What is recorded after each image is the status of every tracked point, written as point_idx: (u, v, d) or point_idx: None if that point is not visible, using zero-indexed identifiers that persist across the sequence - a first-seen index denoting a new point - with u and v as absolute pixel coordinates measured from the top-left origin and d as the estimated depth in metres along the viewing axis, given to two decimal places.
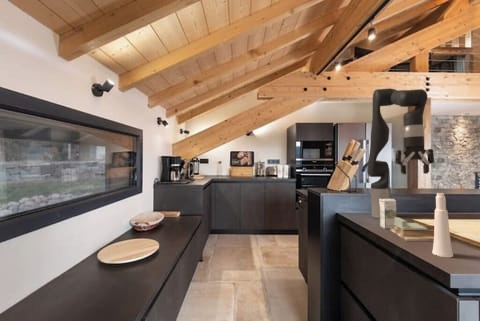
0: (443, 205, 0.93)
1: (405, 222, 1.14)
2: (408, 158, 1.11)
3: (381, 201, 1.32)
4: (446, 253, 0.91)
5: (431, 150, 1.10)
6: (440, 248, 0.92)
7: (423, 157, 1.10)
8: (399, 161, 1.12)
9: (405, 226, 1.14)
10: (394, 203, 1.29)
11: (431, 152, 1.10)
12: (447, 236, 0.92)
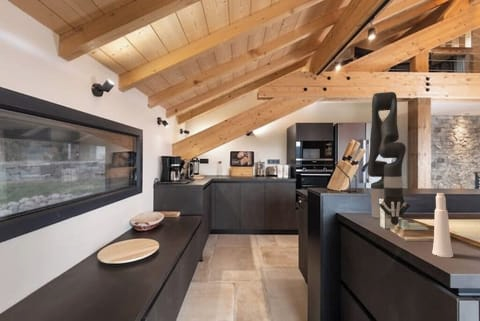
0: (443, 205, 0.93)
1: (406, 222, 1.14)
2: (392, 209, 1.17)
3: (381, 201, 1.32)
4: (446, 253, 0.91)
5: (408, 205, 1.17)
6: (440, 248, 0.92)
7: (398, 208, 1.17)
8: (389, 212, 1.18)
9: (406, 226, 1.14)
10: None
11: (407, 207, 1.17)
12: (447, 236, 0.92)
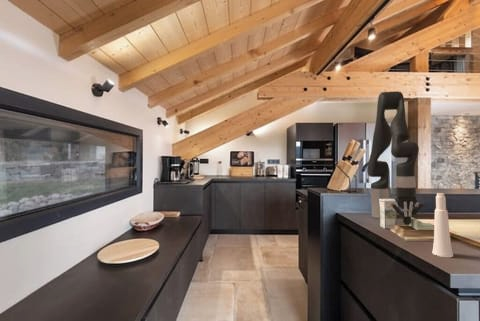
0: (443, 205, 0.93)
1: (419, 222, 1.13)
2: (405, 209, 1.16)
3: (381, 201, 1.32)
4: (446, 253, 0.91)
5: (421, 205, 1.16)
6: (440, 248, 0.92)
7: (410, 208, 1.16)
8: (401, 212, 1.17)
9: (419, 226, 1.13)
10: None
11: (419, 206, 1.16)
12: (447, 236, 0.92)
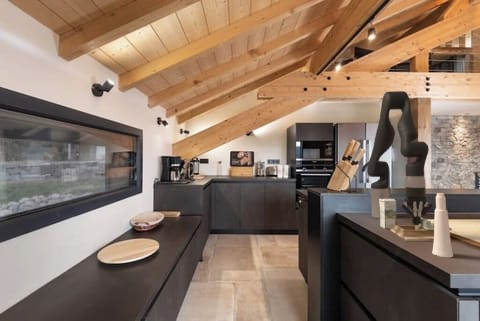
0: (443, 205, 0.93)
1: (429, 222, 1.13)
2: (415, 209, 1.16)
3: (381, 201, 1.32)
4: (446, 253, 0.91)
5: (430, 205, 1.15)
6: (440, 248, 0.92)
7: (420, 208, 1.15)
8: (411, 212, 1.16)
9: (429, 226, 1.13)
10: (394, 203, 1.29)
11: (429, 206, 1.15)
12: (447, 236, 0.92)
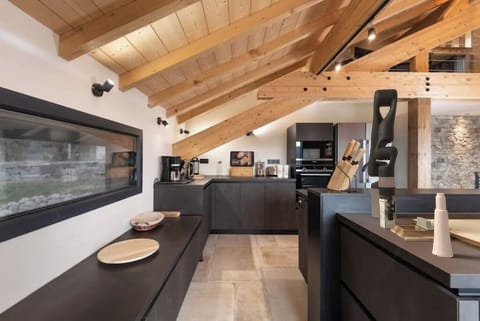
0: (443, 205, 0.93)
1: (429, 222, 1.13)
2: None
3: (381, 201, 1.32)
4: (446, 253, 0.91)
5: (389, 201, 1.26)
6: (440, 248, 0.92)
7: None
8: None
9: (429, 226, 1.13)
10: None
11: (389, 203, 1.26)
12: (447, 236, 0.92)
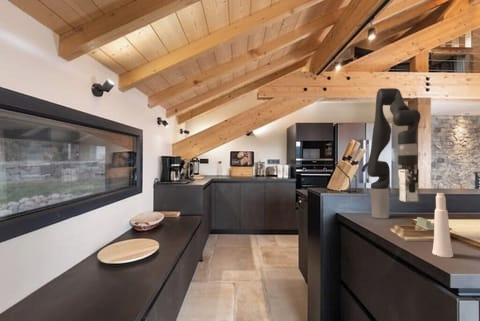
0: (443, 205, 0.93)
1: (429, 222, 1.13)
2: None
3: (401, 172, 1.18)
4: (446, 253, 0.91)
5: (411, 170, 1.12)
6: (440, 248, 0.92)
7: None
8: None
9: (429, 226, 1.13)
10: None
11: (411, 172, 1.12)
12: (447, 236, 0.92)
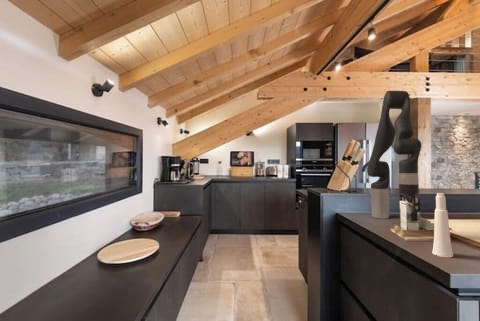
0: (443, 205, 0.93)
1: (429, 222, 1.13)
2: None
3: (402, 203, 1.18)
4: (446, 253, 0.91)
5: (412, 199, 1.12)
6: (440, 248, 0.92)
7: (408, 204, 1.15)
8: None
9: (429, 226, 1.13)
10: None
11: (412, 201, 1.12)
12: (447, 236, 0.92)
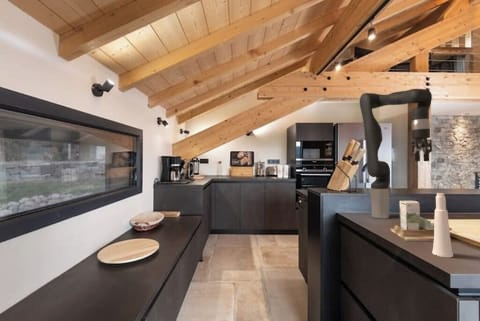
0: (443, 205, 0.93)
1: (429, 222, 1.13)
2: (414, 148, 1.34)
3: (402, 203, 1.18)
4: (446, 253, 0.91)
5: (425, 140, 1.25)
6: (440, 248, 0.92)
7: (420, 147, 1.28)
8: (412, 150, 1.37)
9: (429, 226, 1.13)
10: (417, 206, 1.14)
11: (425, 142, 1.25)
12: (447, 236, 0.92)
